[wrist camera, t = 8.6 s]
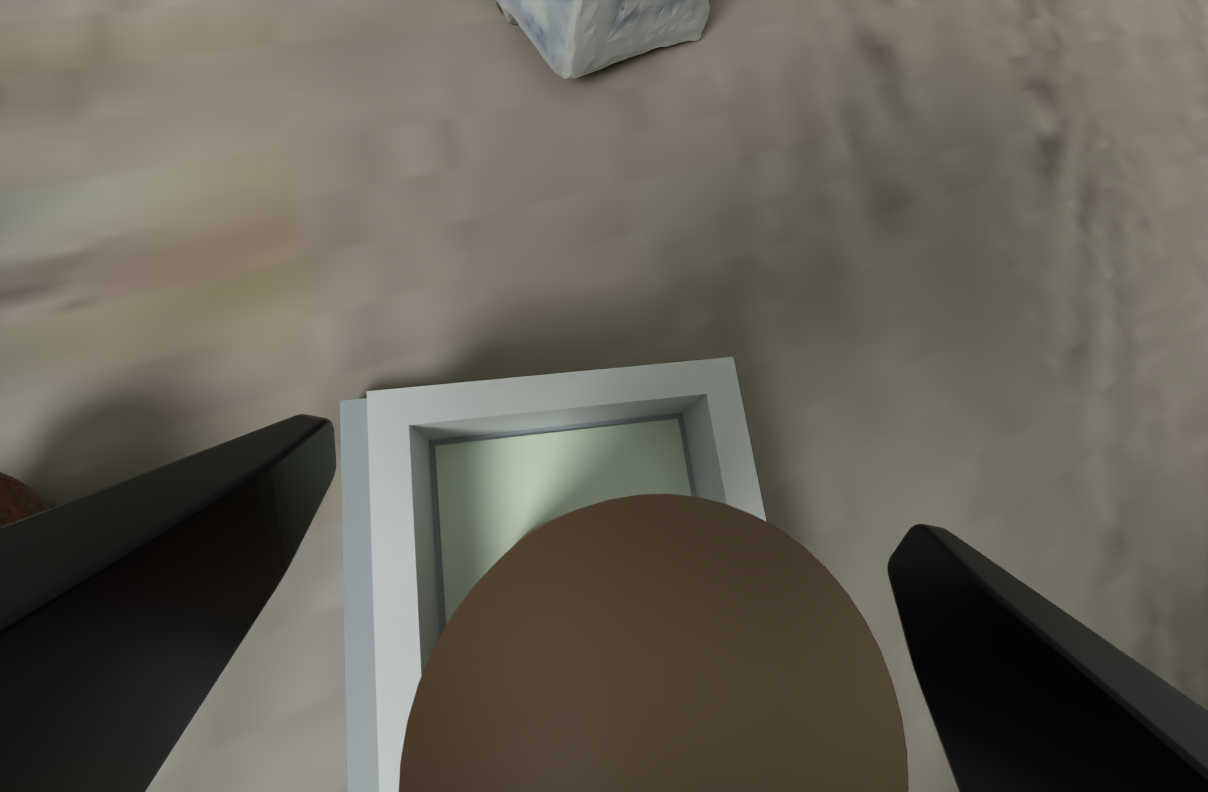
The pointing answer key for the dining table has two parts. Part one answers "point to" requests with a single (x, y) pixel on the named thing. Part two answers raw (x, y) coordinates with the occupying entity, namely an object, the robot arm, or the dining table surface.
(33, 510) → the bolt
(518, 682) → the walnut cylinder
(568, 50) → the light grey box
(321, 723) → the dining table surface
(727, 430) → the white tray
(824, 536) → the dining table surface
